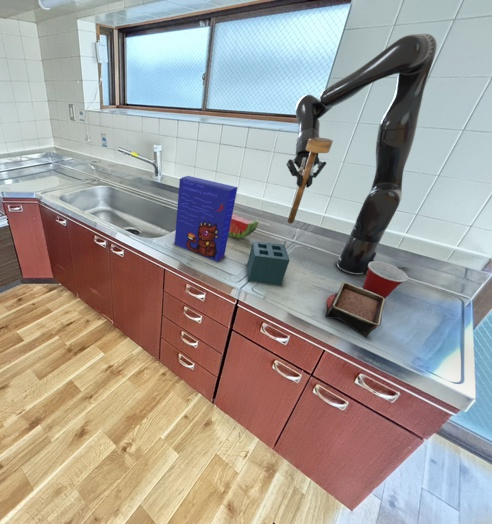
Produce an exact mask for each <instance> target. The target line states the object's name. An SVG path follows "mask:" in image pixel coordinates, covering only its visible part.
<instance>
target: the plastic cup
mask: <svg viewBox="0 0 492 524" xmlns="http://www.w3.org/2000/svg"><path fill="white" fill-rule="evenodd" d="M397 267H398V266H395V265H392V264H390V263H386V262H384V261H379V260H378V261H376V260H374V261H372V262H369V264H368V271H367V273H366V275H365V279H364V283H363V285H362V288H363V289H365V290H368V291H370V292H373V293H375V294H377V295H379V296H381V297H383V298H384V299H386V298H387V297H388V296H390V295H391V294H392V293H393V292H394V290H395V289H397V287H398V286H400V285H401V284H403V282H407V281H408V280H409V276H408V275H407V273H406V272H405V271H403V269H399V268H397Z"/></svg>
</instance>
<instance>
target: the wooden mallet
mask: <svg viewBox="0 0 492 524" xmlns="http://www.w3.org/2000/svg"><path fill="white" fill-rule="evenodd" d="M333 142H334V140H333V139H331V138H326V137H319V138H318V137H315V138H309V139H308V143H307V146H306V149H305V150H307V151H309V152H310V154H309V157H308V160H307V163H306V166H305V169H304V170H303V174H302V175H303V179H302V185H301V187H298V188H297V190H296V194H295V196H294V200H293V203H292V206H291V210H290V213H289V216H288V217H287V218H288V219H287V223H288V224H294V222H295V219H296V217H297V213H298V211H299V207H300V205H301V201H302V199H303V196H304V193H305V190H306V188H307V187H306V184H307V181H308V178H309V175H310V172H311V169H312V166H313V163H314V160H315V157H316V155H317V153H318V154H328V153H330V151H331V148H332V145H333Z"/></svg>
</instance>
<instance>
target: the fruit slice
mask: <svg viewBox="0 0 492 524" xmlns="http://www.w3.org/2000/svg"><path fill="white" fill-rule="evenodd" d="M258 225H259V221H257V220H254V221H253V220H249V219H247V218H245V217H241V216H240V215H239V216H238V215H237V214H236V213H233V214H232V219H231V224H230V229H229V234H228V237H231V238H236V239H243V238H245V237H249V236H250V235H251V234H253V232H255V231H256V229H257V228H258Z"/></svg>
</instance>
